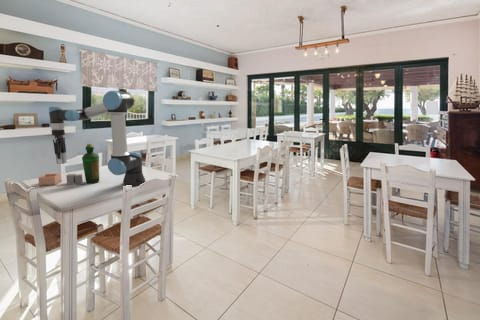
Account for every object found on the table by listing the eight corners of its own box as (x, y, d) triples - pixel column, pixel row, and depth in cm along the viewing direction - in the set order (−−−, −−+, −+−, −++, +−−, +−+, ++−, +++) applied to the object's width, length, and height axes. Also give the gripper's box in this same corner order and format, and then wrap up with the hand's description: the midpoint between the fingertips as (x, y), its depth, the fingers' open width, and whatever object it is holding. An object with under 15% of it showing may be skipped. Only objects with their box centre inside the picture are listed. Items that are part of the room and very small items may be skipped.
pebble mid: (76, 182, 197) (75, 173, 196) (74, 183, 193) (73, 175, 192) (69, 182, 197) (68, 173, 195) (67, 184, 193) (66, 175, 191)
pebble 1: (66, 162, 193) (65, 152, 192) (64, 163, 189) (62, 153, 188) (59, 162, 193) (58, 152, 191) (56, 163, 188) (55, 153, 187)
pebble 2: (82, 182, 198) (82, 174, 197) (81, 183, 195) (81, 175, 193) (76, 182, 197) (75, 174, 196) (75, 184, 193) (74, 175, 192)
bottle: (101, 183, 196) (98, 144, 191) (84, 185, 191) (80, 145, 186) (100, 179, 205) (97, 143, 200) (84, 181, 200) (80, 143, 195)
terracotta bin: (61, 181, 199) (60, 173, 198) (55, 185, 189) (54, 176, 188) (46, 181, 197) (45, 173, 196) (39, 185, 187) (38, 177, 186)
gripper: (57, 128, 194) (61, 160, 198) (45, 130, 177) (50, 165, 182) (69, 128, 195) (72, 160, 200) (58, 130, 179) (62, 164, 183)
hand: (61, 162), depth 191 cm, fingers closed on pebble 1, 4 cm apart
